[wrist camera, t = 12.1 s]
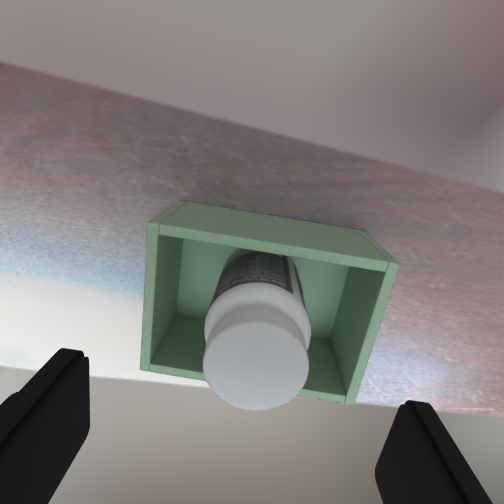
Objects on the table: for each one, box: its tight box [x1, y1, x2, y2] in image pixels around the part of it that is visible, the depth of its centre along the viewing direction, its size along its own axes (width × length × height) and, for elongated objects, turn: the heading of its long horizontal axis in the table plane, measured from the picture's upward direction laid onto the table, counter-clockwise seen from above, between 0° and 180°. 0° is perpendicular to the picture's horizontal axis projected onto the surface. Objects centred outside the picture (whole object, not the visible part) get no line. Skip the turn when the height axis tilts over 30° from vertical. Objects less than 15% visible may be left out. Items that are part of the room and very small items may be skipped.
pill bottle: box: [203, 248, 311, 411], centre depth 16 cm, size 5×5×8 cm
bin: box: [140, 200, 400, 405], centre depth 18 cm, size 11×8×6 cm
